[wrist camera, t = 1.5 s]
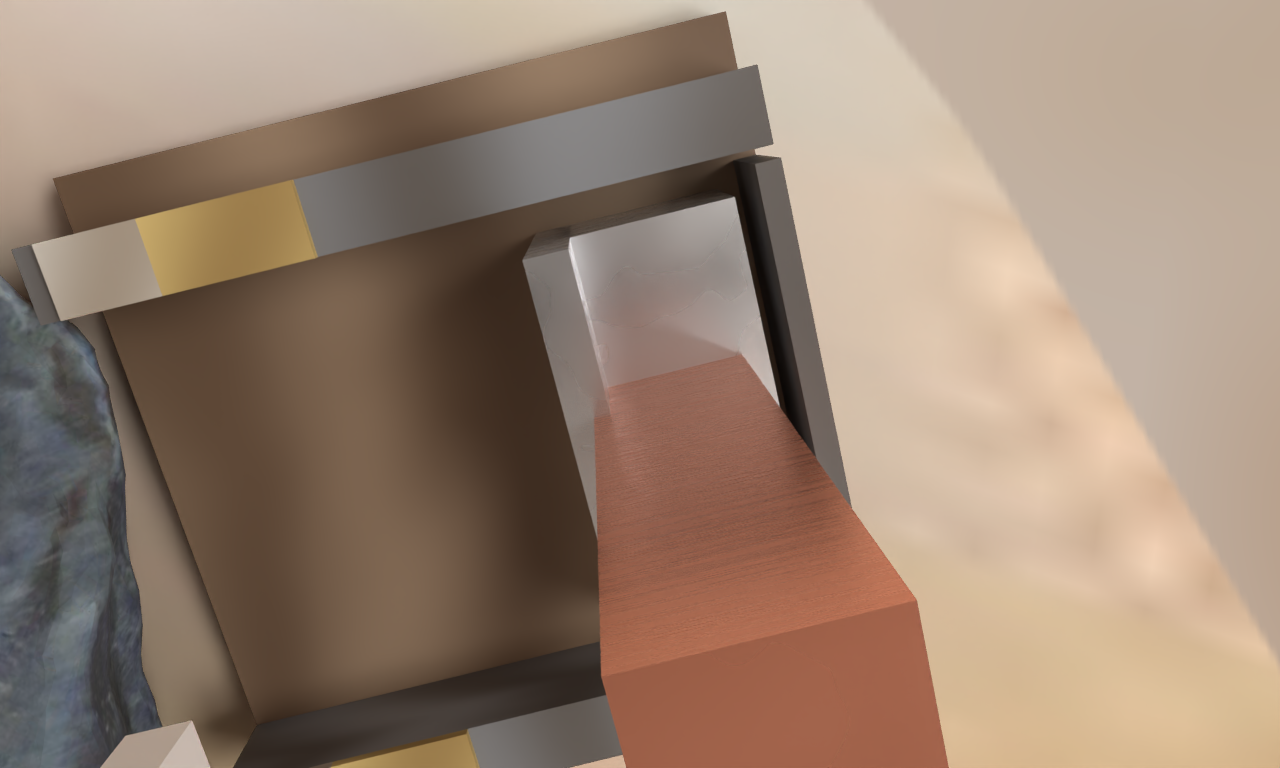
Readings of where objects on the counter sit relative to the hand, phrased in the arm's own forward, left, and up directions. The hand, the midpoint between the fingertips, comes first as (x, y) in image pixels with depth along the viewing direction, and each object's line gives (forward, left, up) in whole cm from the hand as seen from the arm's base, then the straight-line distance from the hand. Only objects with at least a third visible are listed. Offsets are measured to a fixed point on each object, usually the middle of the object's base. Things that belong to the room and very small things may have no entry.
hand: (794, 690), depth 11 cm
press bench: (-5, 0, -14) cm, 14 cm away
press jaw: (0, 0, -13) cm, 12 cm away
